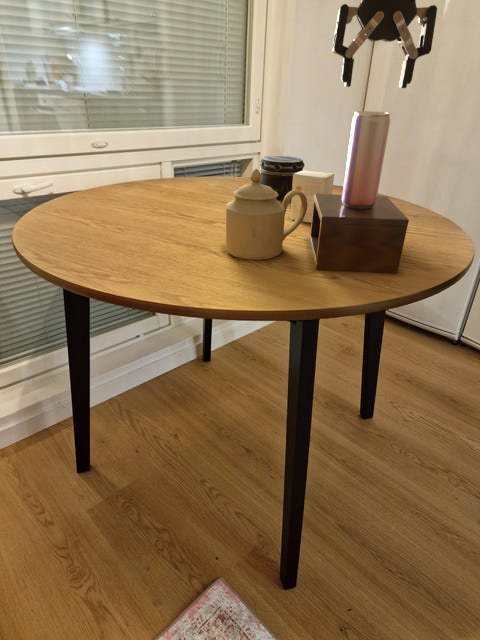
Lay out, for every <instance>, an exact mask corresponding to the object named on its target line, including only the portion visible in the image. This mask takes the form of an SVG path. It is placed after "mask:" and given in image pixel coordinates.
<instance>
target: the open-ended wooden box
mask: <svg viewBox="0 0 480 640" xmlns="http://www.w3.org/2000/svg"><path fill="white" fill-rule="evenodd" d="M409 222H410V219H409V218H408V217H407V216H406V215H405V214H404V213H403V212H402V211H401V210H400V208H398V206H397V205H396V204H394V202H392V200H390V198H389V197H388V196H385V195H384V196H383V195H377V200H376V204H375V205H374V206H373V207H372V208H370V209H354V208H349V207H346V206H344V205H343V203H342V194H332V195H331V194H314V203H313V213H312V223H311V224H310V233H309V242H310V247H311V252H312V257H313V262H314V267H315V270H318V271H337V272H339V271H340V272H359V273H361V272H362V273H381V274H383V273H384V274H385V273H386V274H398V272H399V268H400V262H401V258H402V253H403V249H404V244H405V239H406V235H407V231H408V227H409Z"/></svg>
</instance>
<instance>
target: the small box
mask: <svg viewBox="0 0 480 640" xmlns="http://www.w3.org/2000/svg"><path fill="white" fill-rule="evenodd" d="M334 179H335V173H332V172H331V173H330V172H322V171H321V172H320V171H313V170H304V169H303V171H300V172H297V173H295V174H293V185H292V190H299V191H301V192H303V193H304V194H305V196H306V198H307V211H306V214H305V217H304V219H303V221H302V223H312V213H313V203H314V194H331V195H333V189H334V181H335V180H334ZM290 201H291V202H290V203H291V204H290V220H292V221H295V220H296V218H297V216H298V214H299V212H300V209H301V199H300V197H299V195H295V196H293V197H292V199H290Z"/></svg>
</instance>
